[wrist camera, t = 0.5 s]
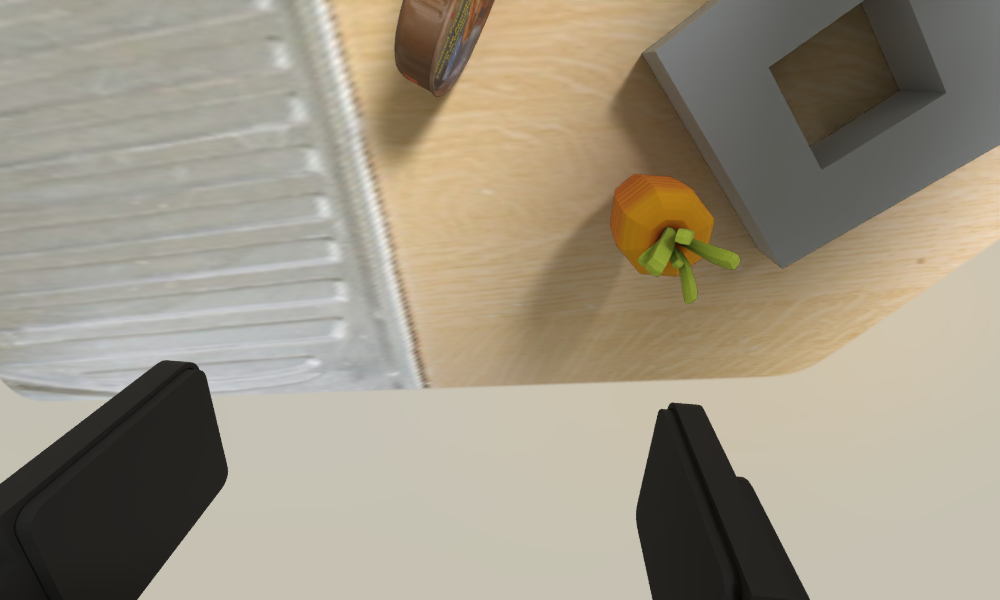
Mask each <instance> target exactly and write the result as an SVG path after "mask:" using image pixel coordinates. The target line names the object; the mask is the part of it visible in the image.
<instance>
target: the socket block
mask: <svg viewBox="0 0 1000 600" xmlns="http://www.w3.org/2000/svg"><path fill="white" fill-rule="evenodd" d="M860 3H861V4H862V6H863V9H864V11H865V13H866V15H867V18H868V20H869V22H870V25H871V27H872V29H873V32H874V34H875V36H876V38H877V41H878V43H879V45H880V48H881V50H882V52H883V55H884V57H885V59H886V61H887V64H888V66H889V68H890V71H891V73H892V75H893V78H894V80H895V82H896V84H897V87H898V89H899V91H898V92H896V93H895V94H893V95H891V96H890V97H888V98H887V99H885V100H884V101H882V102H880V103H879V104H877V105H876V106H874V107H873V108H871V109H869V110H868V111H866V112H865V113H863V114H862V115H860V116H858V117H857V118H855V119H854V120H852V121H851V122H849V123H847V124H846V125H844V126H843V127H841V128H840V129H838V130H836V131H835V132H833V133H832V134H830V135H829V136H827V137H825V138H824V139H822V140H821V141H819V142H818V143H816V144H814V145H813V146H811V147H810V146H809V144H808V143H807V141H806V139H805V137H804V135H803V133H802V131H801V129H800V127H799V125H798V123H797V121H796V119H795V117H794V115H793V113H792V111H791V110H790V108H789V106H788V104H787V102H786V100H785V98H784V96H783V94H782V92H781V90H780V88H779V86H778V84H777V82H776V80H775V78H774V77H773V75H772V73H771V71H770V69H769V67H770V66H772V65H773V64H775V63H776V62H777V61H779V60H780V59H782V58H783V57H784V56H786V55H787V54H789V53H790V52H792V51H793V50H794V49H796V48H797V47H799V46H800V45H801V44H803V43H804V42H806V41H807V40H809V39H810V38H811V37H813V36H814V35H816V34H817V33H819V32H820V31H821V30H823V29H824V28H826V27H827V26H828V25H830V24H831V23H833V22H834V21H836V20H837V19H838V18H840V17H841V16H843V15H844V14H845V13H847V12H848V11H850V10H851V9H853V8H854V7H855V6H857V5H858V4H860ZM642 55H643V57H644V58H645V60H646V62H647V63H648V65H649V67H650V68H651V70H652V72H653V74H654V75H655V77H656V79H657V80H658V82H659V84H660V85H661V87H662V89H663V90H664V92H665V94H666V95H667V97H668V99H669V100H670V102H671V104H672V105H673V107H674V109H675V110H676V112H677V114H678V116H679V117H680V119H681V121H682V122H683V124H684V126H685V127H686V129H687V131H688V132H689V134H690V136H691V137H692V139H693V141H694V142H695V144H696V146H697V147H698V149H699V151H700V152H701V154H702V156H703V158H704V159H705V161H706V163H707V164H708V166H709V168H710V169H711V171H712V173H713V174H714V176H715V178H716V179H717V181H718V183H719V184H720V186H721V188H722V189H723V191H724V193H725V195H726V196H727V198H728V200H729V201H730V203H731V205H732V206H733V208H734V210H735V211H736V213H737V215H738V216H739V218H740V220H741V221H742V223H743V225H744V226H745V228H746V230H747V231H748V233H749V235H750V237H751V238H752V240H753V242H754V243H755V245H756V247H757V248H758V249H759V250H760V251H761V252H762V253H764V254H765V255H766V256H767V257H768V258H770V259H771V260H772V261H773V262H775V263H776V264H777V265H778V266H780V267H781V268H782V269H783V268H785V267H786V266H788V265H790V264H792V263H793V262H795V261H797V260H799V259H800V258H802V257H804V256H806V255H807V254H809V253H811V252H813V251H815V250H816V249H818V248H820V247H822V246H823V245H825V244H827V243H829V242H830V241H832V240H834V239H836V238H837V237H839V236H841V235H843V234H844V233H846V232H848V231H850V230H851V229H853V228H855V227H857V226H858V225H860V224H862V223H864V222H865V221H867V220H869V219H871V218H872V217H874V216H876V215H878V214H879V213H881V212H883V211H885V210H886V209H888V208H890V207H892V206H893V205H895V204H897V203H899V202H900V201H902V200H904V199H906V198H907V197H909V196H911V195H913V194H914V193H916V192H918V191H920V190H921V189H923V188H925V187H927V186H928V185H930V184H932V183H934V182H935V181H937V180H939V179H941V178H942V177H944V176H946V175H948V174H949V173H951V172H953V171H955V170H956V169H958V168H960V167H962V166H963V165H965V164H967V163H969V162H970V161H972V160H974V159H976V158H977V157H979V156H981V155H983V154H984V153H986V152H988V151H990V150H991V149H993V148H995V147H997V146H998V145H1000V0H710V1H709V2H708V3H706V4H705V5H704V6H702V7H701V8H700V9H699V10H697V11H696V12H695V13H693V14H692V15H691V16H689V17H688V18H687V19H686V20H684V21H683V22H682V23H680V24H679V25H678V26H677V27H675V28H674V29H673V30H671V31H670V32H669V33H668V34H666V35H665V36H664V37H662V38H661V39H660V40H659V41H657V42H656V43H655V44H653V45H652V46H651V47H650V48H648V49H647V50H646V51H644V52H643V53H642Z"/></svg>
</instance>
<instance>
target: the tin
mask: <svg viewBox="0 0 1000 600" xmlns="http://www.w3.org/2000/svg"><path fill="white" fill-rule="evenodd" d="M494 1H495V0H403V3H402V7H401V10H400V15H399V19H398V24H397V29H396V36H395V61H396V66H397V68H398V70H399V71H400V72H401V74H402V75H403V76H404V77H406V78H407V79H408V80H410V81H412V82H414V83H416V84H418V85H419V86H421V87H423V88H425V89H427V90H429V91H430V92H432V94H433V95H434V96H436V97H440V96H442V95H444V94H445V93H446V92H447V91H448V90H449V89H450V87H451V86H452V85H453V84H454V82H455V81H456V79H457V78H458V77H459V75H460V74H461V72H462V71H463V69H464V67H465V65H466V63H467V62H468V60H469V58H470V56H471V54H472V52H473V50H474V47H475V45H476V43H477V41H478V39H479V36H480V34H481V32H482V29H483V27H484V25H485V22H486V20H487V18H488V15H489V13H490V10H491V8H492V5H493V3H494Z"/></svg>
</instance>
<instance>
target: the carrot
mask: <svg viewBox="0 0 1000 600" xmlns="http://www.w3.org/2000/svg"><path fill="white" fill-rule="evenodd" d="M713 225H714V218H713V217H712V215H711V214H710V213H709V211H708V210H707V209H706V207H705V206H704V205H703V203H702V202H701V201H700V199H699V198H698V197H697V195H696V194H695V193H694V191H693V190H692V189H691V188H690V187H688V186H687V185H685V184H684V183H682V182H680V181H678V180H676V179H675V178H673V177H668V176H656V175H641V174H634V175H632V176H631V177H630V178H628V179H627V180H626V181H625V182H624V183H622V184H621V185H620V186H619V187H617V188H616V190H615V194H614V201H613V207H612V214H611V223H610V226H611V230H612V234H613V237H614V240H615V242H616V245H617V247H618V248H619V249H620V250H621V251H622V253H623V254H624V255H625V256H626V257H627V259H628V260H629V261H630V262H631V263H632V265H633V266H634V267H635V268H636V269H637V271H638V272H639V273H641V274H649V275H654V276H656V277H658V276H659V275H663V276H678V275H679V274H680V277H681V283H682V289H683V296H684V300H685V304H688V303H692V302H693V301H694V300H695V299H697V298H698V296H697V287H696V282H695V278H694V275H693V271H692V269H691V266H692V265H694V264H695V263H696V262H698V261H699V260H701V259H702V258H705V259H707V260H708V261H710V262H712V263H714V264H716V265H719V266H721V267H724V268H727V269H732V270H734V269H735V268H736V267H737V266H738V265H739V263H740V258H739V256H738V255H737V254H736V253H734V252H732V251H729V250H726V249H722V248H719V247H716V246H713V245H710V244H709V242H710V238H711V234H712V229H713Z"/></svg>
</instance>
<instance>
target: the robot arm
mask: <svg viewBox="0 0 1000 600" xmlns="http://www.w3.org/2000/svg"><path fill="white" fill-rule="evenodd" d="M227 475H228V467H227V463H226V459H225V454H224V450H223V446H222V442H221V437H220V433H219V429H218V425H217V420H216V416H215V412H214V408H213V404H212V399H211V395H210V391H209V387H208V382H207V378H206V375H205V373H204V372H203V371H201V370H199V368H198V366H197V365H196V364H194V363H192V362H181V361H169V360H165V361H161V362H159V363H157V364H156V365H155V366H154V367H152V368H151V369H150V370H148V371H147V372H146V373H144V374H143V375H142V376H141V377H139V378H138V379H137V380H135V381H134V382H133V383H131V384H130V385H129V386H127V387H126V388H125V389H124V390H122V391H121V392H120V393H118V394H117V395H116V396H114V397H113V398H112V399H110V400H109V401H108V402H107V403H105V404H104V405H103V406H101V407H100V408H99V409H97V410H96V411H95V412H94V413H92V414H91V415H90V416H88V417H87V418H86V419H84V420H83V421H82V422H81V423H79V424H78V425H77V426H75V427H74V428H73V429H71V430H70V431H69V432H67V433H66V434H65V435H64V436H62V437H61V438H60V439H58V440H57V441H56V442H54V443H53V444H52V445H50V446H49V447H48V448H46V449H45V450H44V451H43V452H41V453H40V454H39V455H37V456H36V457H35V458H33V459H32V460H31V461H29V462H28V463H27V464H26V465H24V466H23V467H22V468H20V469H19V470H18V471H16V472H15V473H14V474H13V475H11V476H10V477H9V478H7V479H6V480H5V481H4V482H2V483H1V484H0V600H137V599H138V598H139V597H140V595H141V594H142V593H143V591H144V590H145V589H146V587H147V586H148V585H149V583H150V582H151V581H152V579H153V578H154V577H155V575H156V574H157V573H158V572H159V570H160V569H161V568H162V566H163V565H164V563H165V562H166V561H167V560H168V558H169V557H170V556H171V554H172V553H173V552H174V551H175V549H176V548H177V546H178V545H179V544H180V543H181V541H182V540H183V539H184V537H185V536H186V535H187V533H188V532H189V531H190V530H191V528H192V527H193V526H194V524H195V523H196V522H197V520H198V519H199V518H200V516H201V515H202V514H203V512H204V511H205V510H206V508H207V507H208V506H209V505H210V503H211V502H212V501H213V499H214V498H215V497H216V495H217V494H218V493H219V491H220V490H221V489H222V487H223V486H224V484H225V482H226V479H227ZM636 521H637V529H638V533H639V538H640V542H641V547H642V552H643V557H644V561H645V566H646V571H647V576H648V580H649V585H650V590H651V594H652V599H653V600H810V599H809V597H808V595H807V593H806V591H805V589H804V587H803V585H802V583H801V581H800V579H799V577H798V575H797V573H796V571H795V569H794V567H793V565H792V563H791V562H790V559H789V557H788V556H787V554H786V552H785V550H784V548H783V546H782V544H781V542H780V540H779V538H778V536H777V534H776V532H775V530H774V528H773V526H772V524H771V522H770V520H769V518H768V516H767V515H766V513H765V511H764V509H763V507H762V505H761V503H760V501H759V499H758V497H757V495H756V493H755V491H754V489H753V487H752V486H751V484H750V483H749V481H748V480H747V479H745V478H744V477H736V475H735V473H734V471H733V469H732V467H731V465H730V463H729V460H728V458H727V456H726V454H725V452H724V450H723V448H722V446H721V444H720V442H719V440H718V438H717V436H716V434H715V431H714V429H713V427H712V425H711V423H710V421H709V419H708V417H707V415H706V413H705V411H704V409H703V407H702V406H700V405H693V404H682V403H670V405H669V407H668V409H667V410H666V409H660V410H659V412H658V415H657V420H656V424H655V428H654V433H653V437H652V442H651V446H650V451H649V455H648V459H647V464H646V468H645V473H644V477H643V481H642V486H641V490H640V495H639V499H638V504H637V510H636Z"/></svg>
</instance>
